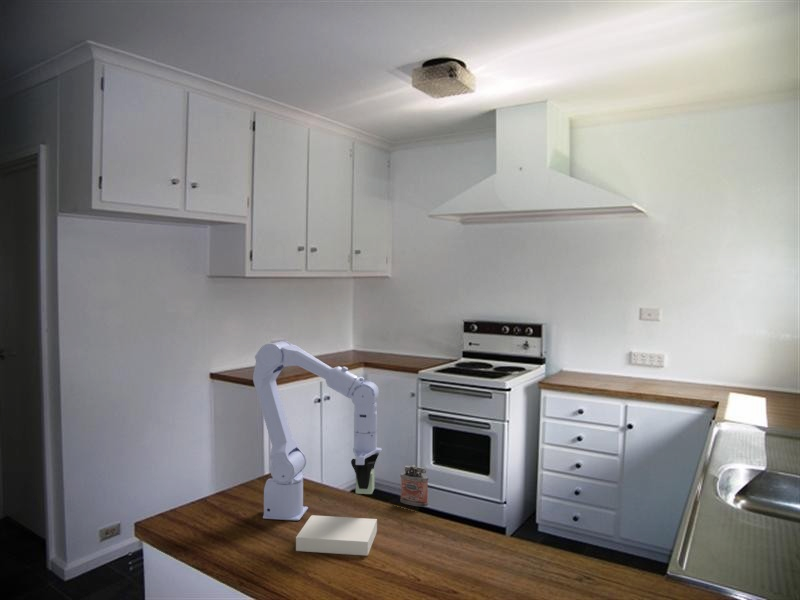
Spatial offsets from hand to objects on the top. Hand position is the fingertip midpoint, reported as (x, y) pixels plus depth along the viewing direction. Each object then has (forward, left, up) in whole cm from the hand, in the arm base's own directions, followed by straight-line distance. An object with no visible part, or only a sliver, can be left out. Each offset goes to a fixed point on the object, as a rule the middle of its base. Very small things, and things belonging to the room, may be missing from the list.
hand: (365, 485), depth 138 cm
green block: (0, 0, -1) cm, 1 cm away
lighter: (+11, +13, -9) cm, 19 cm away
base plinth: (-4, -12, -9) cm, 15 cm away
